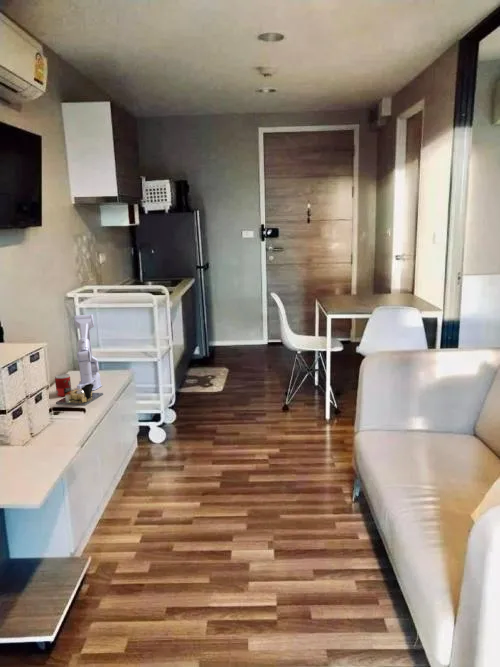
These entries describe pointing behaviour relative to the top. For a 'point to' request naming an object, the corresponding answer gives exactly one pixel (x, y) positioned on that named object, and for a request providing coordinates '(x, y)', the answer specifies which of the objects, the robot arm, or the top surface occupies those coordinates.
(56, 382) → the canned food
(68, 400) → the flange plate
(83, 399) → the handled octagonal ring
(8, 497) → the top surface
